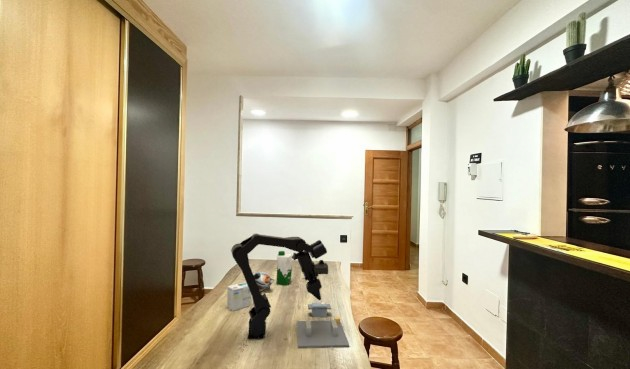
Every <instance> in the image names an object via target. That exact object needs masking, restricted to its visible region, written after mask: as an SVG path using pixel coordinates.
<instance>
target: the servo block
mask: <svg viewBox="0 0 630 369" xmlns="http://www.w3.org/2000/svg"><path fill="white" fill-rule="evenodd" d="M307 309H308V310H311V317H312V318H315V317H316V318H318V317H322V318H323V317H327V316H328V310H332V307H331V303H329V304H328V303H326V302H323V301H322V302H311V303H308V304H307Z"/></svg>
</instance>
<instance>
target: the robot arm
mask: <svg viewBox="0 0 630 369" xmlns="http://www.w3.org/2000/svg"><path fill="white" fill-rule="evenodd" d="M259 245H261V246H269V247H271V246H272V247H278V248H285V249H288V250H290V251H293V254H292V260H293V261H296V260H297V261H298V265H299V266H300V269H301V272H302V274H303V276H304V280H305V281H307V282H306V284H305V288H306V291H307V292H308V293H309V294H311V295H312V296H313V297H314V298H316V299H317V300H318V301H320V300H322V296H321V291H320V289H322V283H321V279H319V278H318V277H319V275H328V274H329V265H328V263H326V262H324V260H323V259H319V258H320V257H323V256H324V255H327V253H328V250H327V247H326V246H325V245H324V244H323V242H322V240H321V239H318V240H317V241H315V242H313V243H311V244H309V243H307V242H306V240H305V239H303V238H302V237H300V236H288V237H282V236H273V235H266V234H259V233H253V234H252V235H251V236H250V237H248V238H245V239H244V240H242V241H241V242H238V243H235V244H234V245H233V246H232V247H231V249H230V252H231V256H232V258H233V260H234V261H235V263H236V264H237V266H238V267H239V268H240V270H241V272H242V273H241V274H243V278H244V279H245V282H247V285H248V287H249V290H250V292H251V295H252V296H251V299H252V303H253V307H252V308H251V309H250V310H249V311H248V314H249V321H248V334H247V339H248V340H256V339H260V340H262V339H264V338H265V336H266V333H267V318H268V317H269V316H270V315H271V308H272V305H271V304H270V301H269V298H268V296H267V294H266V293H263V294H262V293H261V291H260V290H259V288H258V285H257V283H256V280H255V278H254V275H253V271H252V268H251V265H250V262H249V261H250V260H249V255H248V254H250V253H251V252H252V251H253V250H255V248H256V247H258V246H259ZM312 259H315V260H317V259H319V261H318V263H315V262H314V261H313V260H312Z"/></svg>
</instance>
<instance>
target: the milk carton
mask: <svg viewBox="0 0 630 369" xmlns="http://www.w3.org/2000/svg"><path fill="white" fill-rule="evenodd" d="M277 252H278V254H277V256H276V285H277V286H289V285H290V283H291V282H292V270H293V269H292V266H293V263H292V262H293V259H292V256H293V254H289V253H286V252H285V250H279V251H277Z"/></svg>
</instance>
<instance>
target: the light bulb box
mask: <svg viewBox="0 0 630 369" xmlns="http://www.w3.org/2000/svg"><path fill="white" fill-rule="evenodd" d="M226 292H227V296H226V298H227V300H226V308H228V309H230V311H232V312H235V311H237V310H241V309H244V308H249V307H251V306H252V295H251V292H250V290H249V287H248V285H247V282H246V281H243V282H240V283H236V284H231V285H228V286H227V291H226Z"/></svg>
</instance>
